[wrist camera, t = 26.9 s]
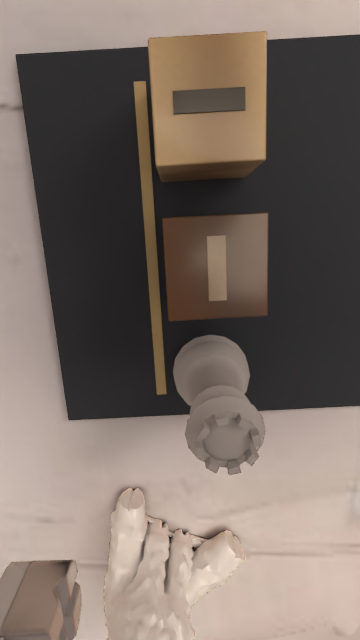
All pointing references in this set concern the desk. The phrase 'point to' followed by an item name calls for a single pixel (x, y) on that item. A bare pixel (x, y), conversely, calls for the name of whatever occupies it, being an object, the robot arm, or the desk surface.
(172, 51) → the slotted cardboard carton
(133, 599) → the sitting furry creature
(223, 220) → the dark brown wooden block
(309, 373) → the dark grey square board
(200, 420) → the rook chess piece
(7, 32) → the desk surface
